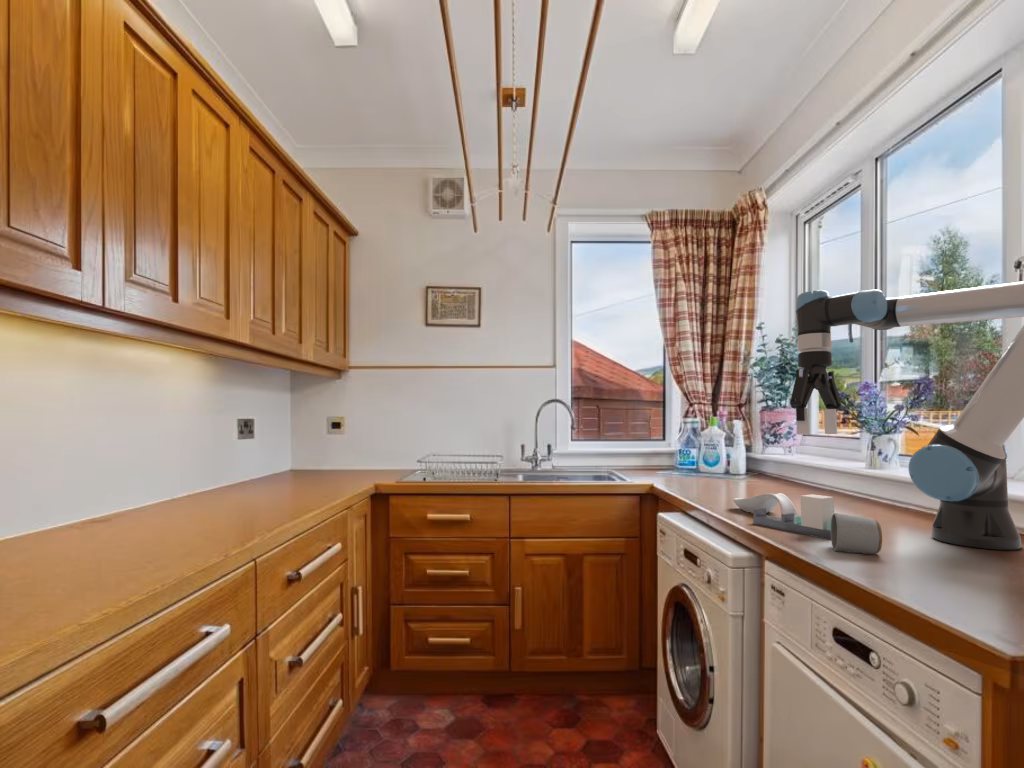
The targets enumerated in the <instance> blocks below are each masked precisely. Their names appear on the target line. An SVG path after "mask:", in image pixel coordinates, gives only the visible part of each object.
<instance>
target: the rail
mask: <svg viewBox="0 0 1024 768" xmlns="http://www.w3.org/2000/svg"><path fill="white" fill-rule="evenodd" d="M753 511H754V513H753V515H752V525H757V526H762V527H766V528H772V529H778V530H781V531H786V532H787V531H788V532H792V533H797V534H801V533H802V535H806V534H807V536H811V535H812V537H816V536H817V537H816V538H821V537H822V538H821V539H825V538H827V539H826V540H830V539H831V521H829V522H826V527H827V529H817V528H812V527H807V526H801V514H799V515H798V516H794V513H785V514H782V518H781V517H777V516H771V515H767V513H766V508H758V509H753Z"/></svg>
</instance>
